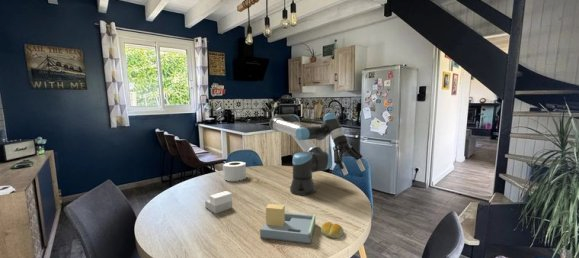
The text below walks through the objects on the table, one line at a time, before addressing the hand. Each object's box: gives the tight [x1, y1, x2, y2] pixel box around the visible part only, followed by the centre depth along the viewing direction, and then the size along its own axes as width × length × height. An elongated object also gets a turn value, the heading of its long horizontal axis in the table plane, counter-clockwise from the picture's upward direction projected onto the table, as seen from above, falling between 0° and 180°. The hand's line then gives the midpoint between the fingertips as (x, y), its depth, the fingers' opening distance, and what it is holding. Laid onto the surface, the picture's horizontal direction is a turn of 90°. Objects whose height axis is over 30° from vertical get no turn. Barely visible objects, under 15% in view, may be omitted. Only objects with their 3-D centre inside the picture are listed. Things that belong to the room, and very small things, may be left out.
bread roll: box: [320, 221, 344, 239], centre depth 100 cm, size 8×9×4 cm
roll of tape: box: [223, 161, 247, 182], centre depth 175 cm, size 16×15×11 cm
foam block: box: [204, 190, 233, 214], centre depth 125 cm, size 10×10×8 cm
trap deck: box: [259, 212, 316, 245], centre depth 102 cm, size 20×16×4 cm
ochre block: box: [265, 203, 286, 227], centre depth 103 cm, size 7×4×8 cm, turn 77°
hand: (355, 172), depth 130 cm, fingers open, 13 cm apart
